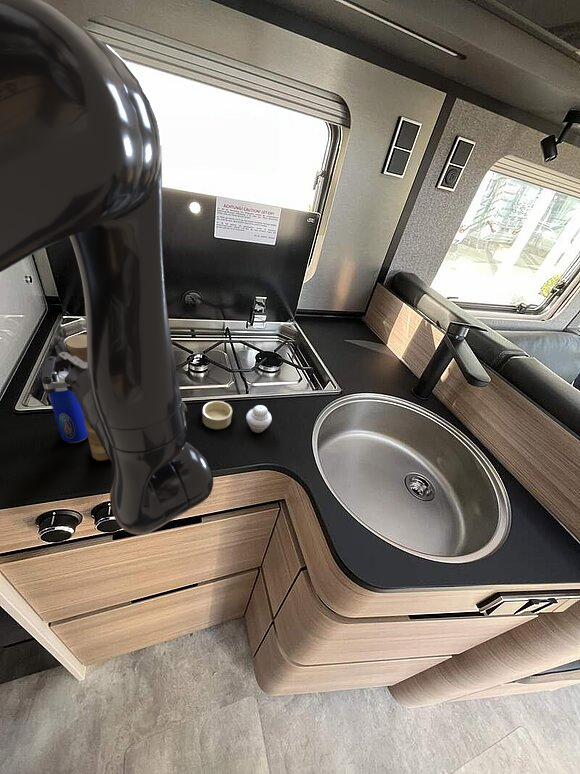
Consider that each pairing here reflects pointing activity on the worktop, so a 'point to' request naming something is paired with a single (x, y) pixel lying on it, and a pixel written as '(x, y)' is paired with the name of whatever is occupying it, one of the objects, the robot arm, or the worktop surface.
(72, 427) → the beverage can
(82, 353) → the post
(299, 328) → the worktop surface
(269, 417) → the white lidded jar
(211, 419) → the socket
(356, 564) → the worktop surface
